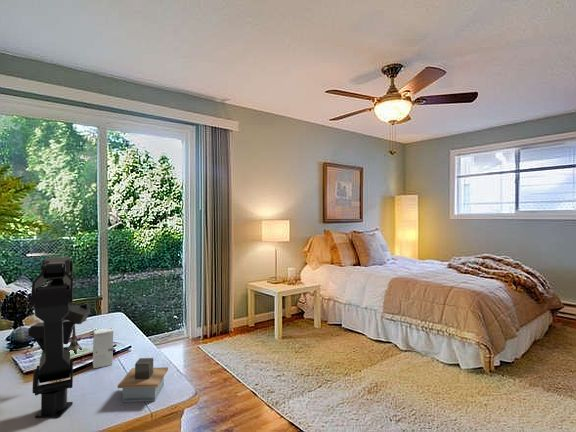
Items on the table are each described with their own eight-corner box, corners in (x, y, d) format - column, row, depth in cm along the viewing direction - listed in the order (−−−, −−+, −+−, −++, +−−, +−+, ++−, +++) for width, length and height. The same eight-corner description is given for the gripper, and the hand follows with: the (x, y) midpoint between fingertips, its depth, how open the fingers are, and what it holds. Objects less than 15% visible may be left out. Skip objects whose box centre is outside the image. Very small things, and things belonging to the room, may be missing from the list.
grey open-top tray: (154, 401, 100) (155, 385, 100) (122, 402, 99) (122, 386, 99) (163, 385, 109) (163, 371, 109) (134, 386, 108) (134, 371, 108)
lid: (157, 387, 99) (157, 368, 99) (117, 388, 98) (117, 369, 98) (168, 369, 110) (168, 353, 110) (132, 370, 109) (132, 353, 109)
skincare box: (93, 369, 120) (93, 333, 119) (92, 364, 123) (92, 330, 123) (113, 364, 123) (113, 330, 123) (111, 360, 127) (112, 327, 127)
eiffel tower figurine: (90, 345, 142) (91, 312, 142) (99, 352, 135) (100, 318, 135) (47, 356, 131) (47, 320, 131) (54, 364, 124) (55, 326, 124)
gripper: (68, 306, 97) (68, 362, 97) (99, 291, 115) (99, 338, 116) (26, 306, 96) (26, 363, 96) (64, 291, 115) (64, 338, 115)
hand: (57, 349), depth 106 cm, fingers open, 9 cm apart
